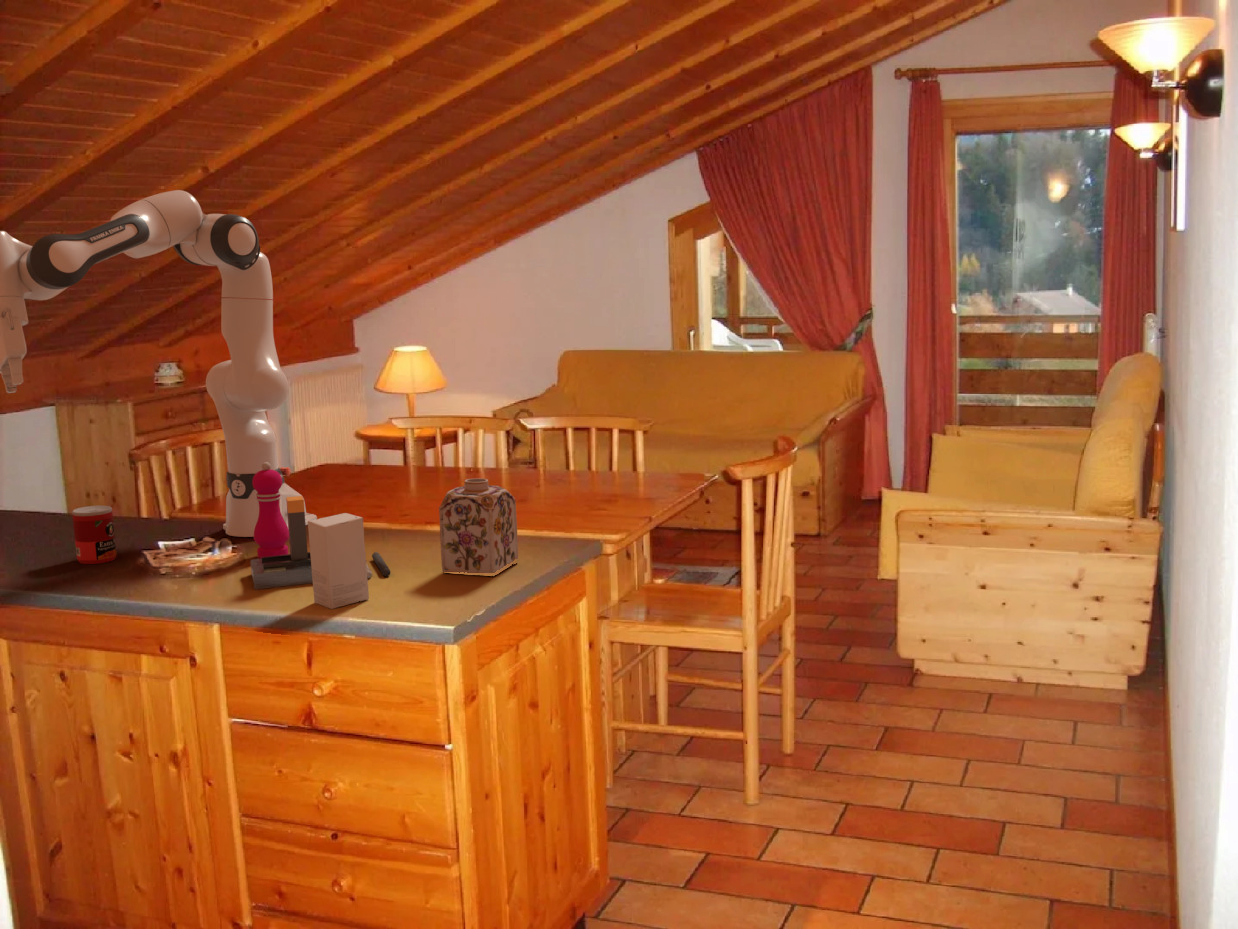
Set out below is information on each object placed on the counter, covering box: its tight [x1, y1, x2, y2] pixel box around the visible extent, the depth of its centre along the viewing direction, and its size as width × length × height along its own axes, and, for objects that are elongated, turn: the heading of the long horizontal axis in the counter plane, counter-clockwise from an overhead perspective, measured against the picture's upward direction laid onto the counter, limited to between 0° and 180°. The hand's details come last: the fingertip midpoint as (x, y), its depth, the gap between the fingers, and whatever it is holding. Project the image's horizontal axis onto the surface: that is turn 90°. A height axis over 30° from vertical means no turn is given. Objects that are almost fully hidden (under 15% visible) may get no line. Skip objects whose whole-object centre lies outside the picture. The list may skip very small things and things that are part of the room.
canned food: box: [71, 505, 117, 565], centre depth 265 cm, size 8×8×11 cm
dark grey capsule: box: [366, 551, 392, 579], centre depth 252 cm, size 16×5×2 cm, turn 19°
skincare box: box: [307, 512, 370, 610], centre depth 228 cm, size 8×7×16 cm
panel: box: [250, 551, 313, 590], centre depth 248 cm, size 18×12×4 cm, turn 109°
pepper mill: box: [252, 462, 289, 559], centre depth 264 cm, size 7×7×20 cm
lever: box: [286, 495, 309, 561], centre depth 246 cm, size 3×4×12 cm
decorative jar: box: [438, 477, 519, 573], centre depth 249 cm, size 12×12×18 cm
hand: (15, 388), depth 239 cm, fingers open, 8 cm apart
